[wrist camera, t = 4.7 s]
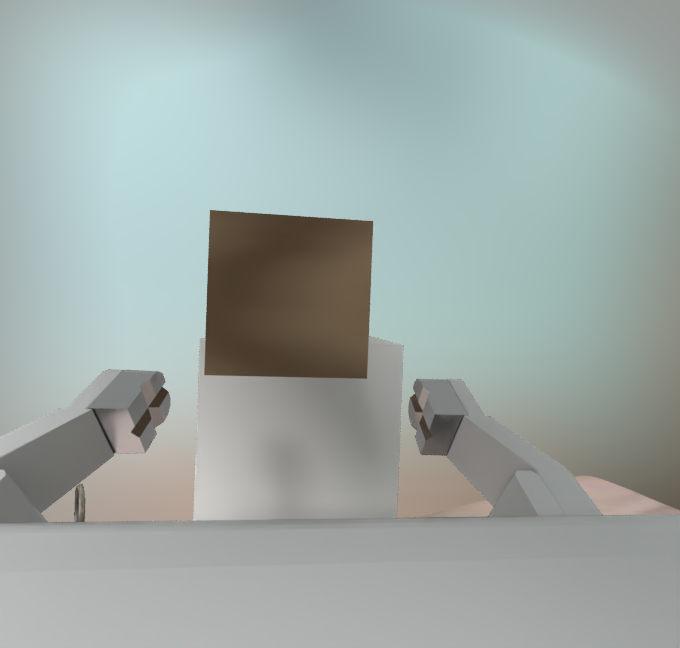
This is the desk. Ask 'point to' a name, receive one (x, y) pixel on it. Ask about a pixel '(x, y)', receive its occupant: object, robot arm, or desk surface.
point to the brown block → (287, 296)
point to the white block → (300, 443)
